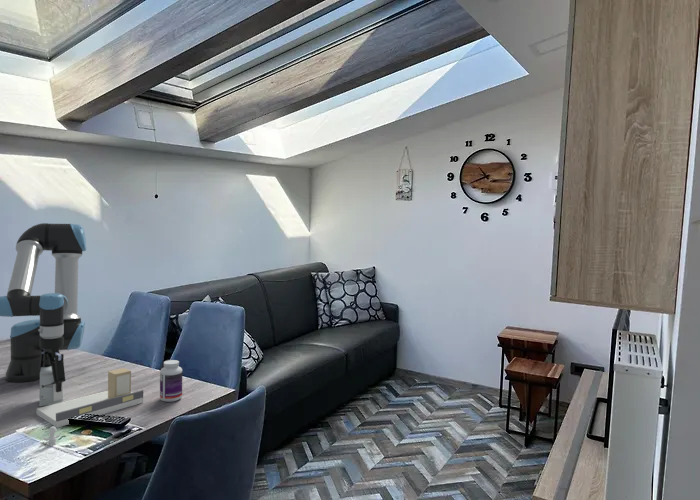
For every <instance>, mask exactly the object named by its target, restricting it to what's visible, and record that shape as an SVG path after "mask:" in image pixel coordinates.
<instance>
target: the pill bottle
mask: <svg viewBox="0 0 700 500" xmlns="http://www.w3.org/2000/svg"><path fill="white" fill-rule="evenodd" d="M179 365H180V361H179V360H177V359H167V360H165V361H163V367H162V368H161V369H160V371H159V398H160V400H161V401H163V402H167V403H169V402H177V401H178V400H180V399H181V398H182V397H183V367H181V366H179Z"/></svg>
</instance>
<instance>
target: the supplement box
mask: <svg viewBox="0 0 700 500" xmlns="http://www.w3.org/2000/svg"><path fill="white" fill-rule="evenodd" d="M53 382H54V378H53V373H52V368H51V366H49V367H41V370H40V379H39V404H38V405H39V407H45V406H49V405H53V404H57V403H61V402H64V400H63V399H64V382H62V399H61V400H57V401H53V384H52V383H53Z"/></svg>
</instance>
